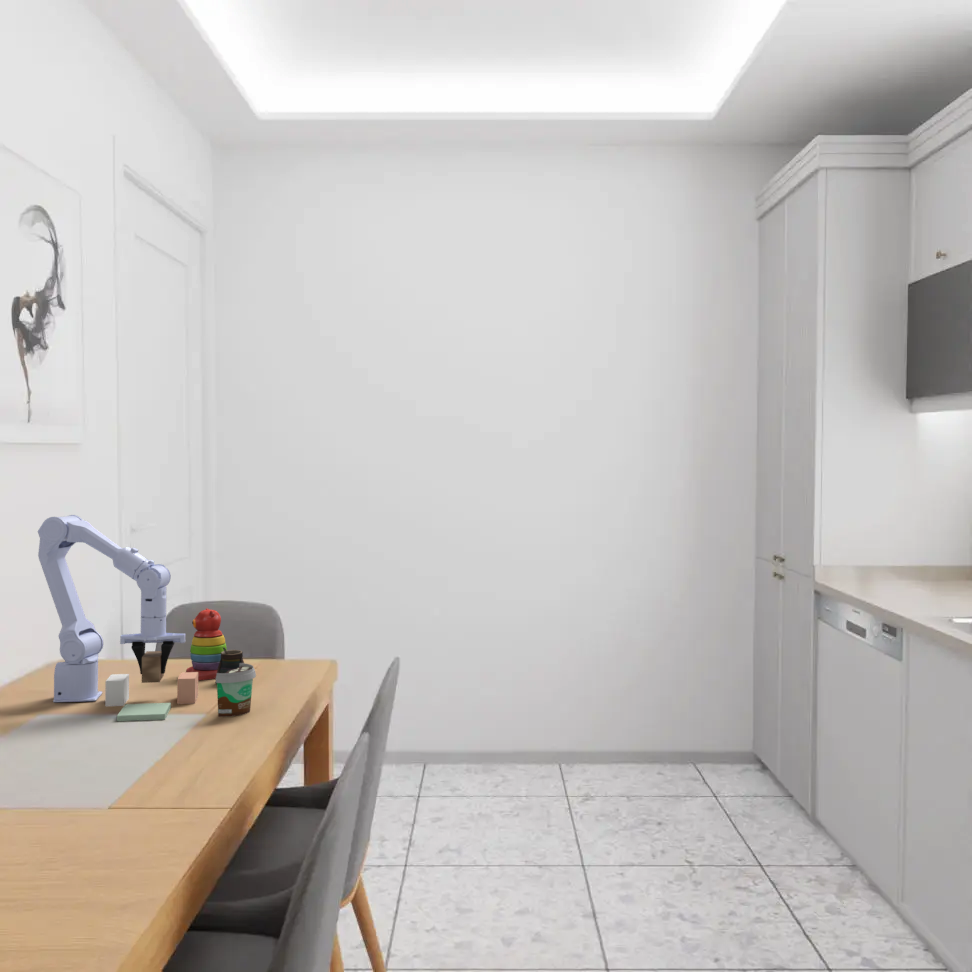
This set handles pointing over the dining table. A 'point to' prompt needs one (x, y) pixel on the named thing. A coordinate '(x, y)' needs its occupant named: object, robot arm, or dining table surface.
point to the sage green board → (144, 711)
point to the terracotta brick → (187, 688)
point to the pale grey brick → (117, 690)
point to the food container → (235, 690)
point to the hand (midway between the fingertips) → (152, 673)
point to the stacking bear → (206, 645)
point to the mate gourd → (230, 660)
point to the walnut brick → (151, 667)
